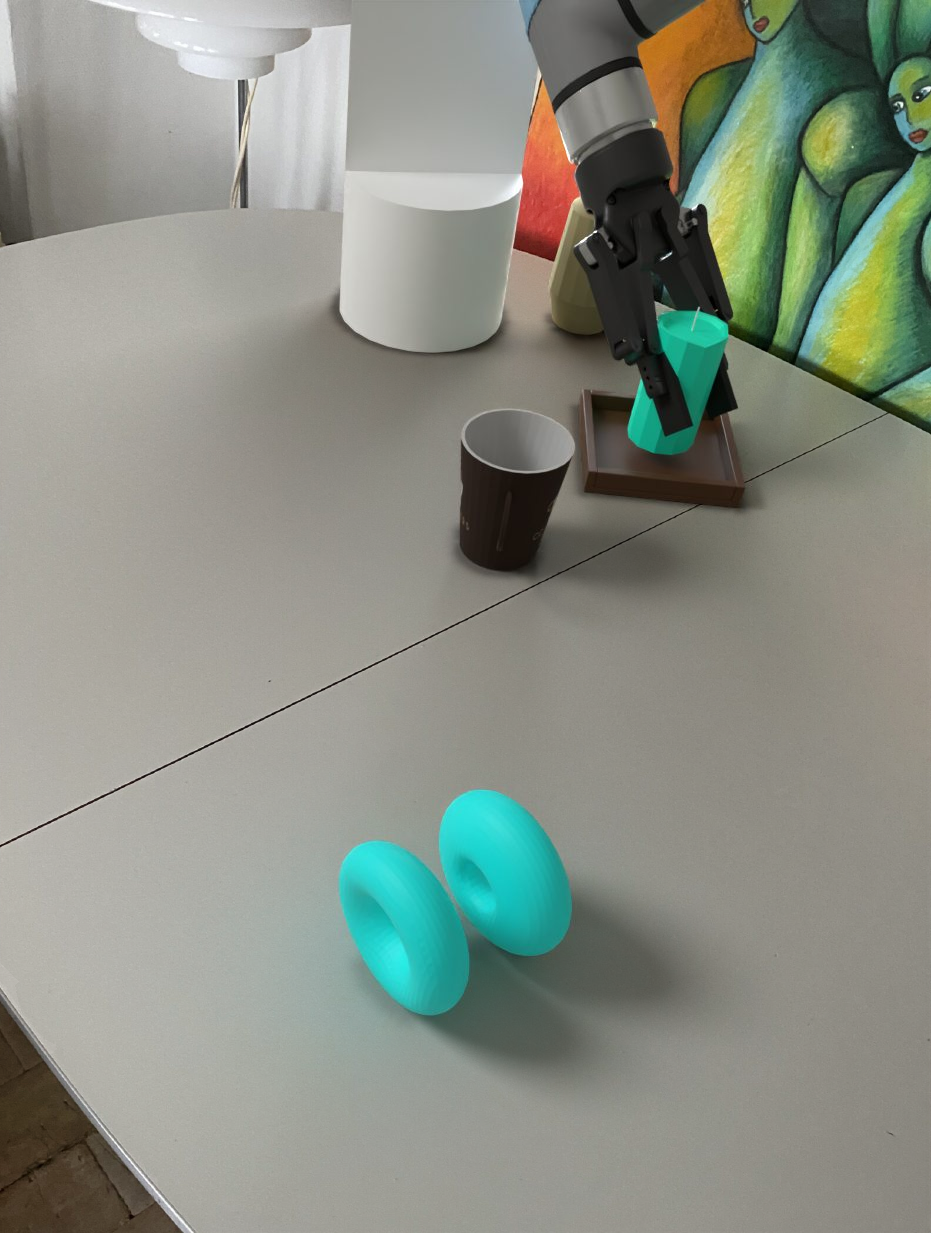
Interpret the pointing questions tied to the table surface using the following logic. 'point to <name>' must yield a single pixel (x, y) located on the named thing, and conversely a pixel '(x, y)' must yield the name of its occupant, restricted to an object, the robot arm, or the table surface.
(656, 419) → the candle
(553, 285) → the squeeze bottle
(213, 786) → the table surface
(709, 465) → the walnut tray
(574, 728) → the table surface
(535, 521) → the coffee mug
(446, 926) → the donuts
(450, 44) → the cylinder
